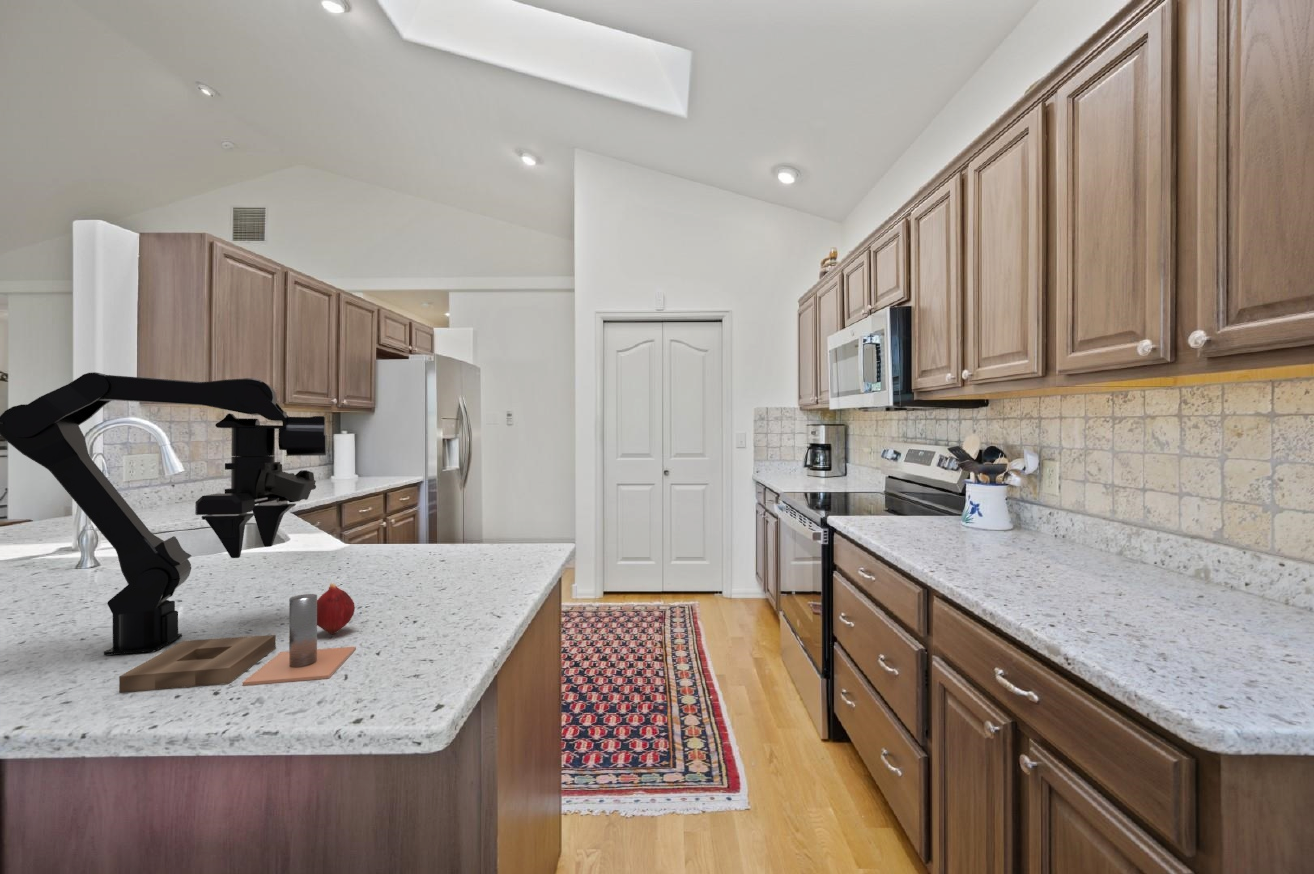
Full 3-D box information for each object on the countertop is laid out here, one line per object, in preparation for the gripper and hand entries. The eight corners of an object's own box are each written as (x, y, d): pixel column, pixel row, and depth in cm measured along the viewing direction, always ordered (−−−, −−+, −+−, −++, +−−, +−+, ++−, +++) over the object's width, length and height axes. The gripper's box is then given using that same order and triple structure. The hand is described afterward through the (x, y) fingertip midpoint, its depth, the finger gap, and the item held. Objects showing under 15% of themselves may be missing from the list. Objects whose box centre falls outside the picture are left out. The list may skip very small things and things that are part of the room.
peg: (311, 666, 74) (311, 599, 74) (284, 668, 73) (285, 600, 73) (320, 657, 77) (320, 593, 77) (295, 659, 76) (295, 594, 76)
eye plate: (119, 692, 67) (119, 676, 67) (183, 654, 79) (183, 640, 79) (229, 683, 70) (229, 667, 70) (275, 648, 81) (275, 634, 81)
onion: (362, 627, 90) (362, 579, 90) (338, 640, 84) (338, 588, 84) (329, 626, 91) (329, 578, 91) (303, 639, 85) (303, 588, 85)
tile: (242, 685, 69) (242, 682, 69) (280, 654, 79) (280, 651, 79) (328, 678, 71) (328, 675, 71) (355, 649, 81) (355, 646, 81)
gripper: (277, 458, 81) (276, 563, 81) (331, 454, 99) (331, 540, 99) (193, 458, 79) (192, 565, 79) (264, 455, 98) (263, 541, 98)
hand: (252, 551), depth 89 cm, fingers open, 9 cm apart
